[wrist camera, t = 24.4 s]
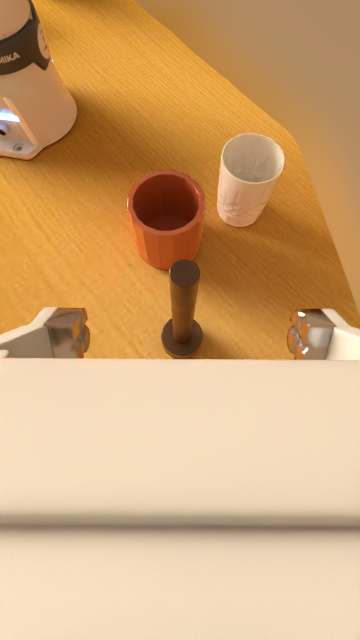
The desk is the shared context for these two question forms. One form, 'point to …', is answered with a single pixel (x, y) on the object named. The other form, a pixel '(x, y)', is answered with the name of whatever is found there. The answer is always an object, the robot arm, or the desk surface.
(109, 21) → the desk surface
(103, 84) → the desk surface
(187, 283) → the brown dowel on base
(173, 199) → the utensil holder
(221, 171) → the white cup
